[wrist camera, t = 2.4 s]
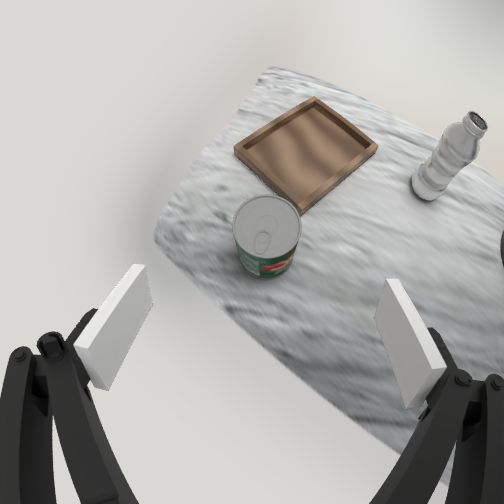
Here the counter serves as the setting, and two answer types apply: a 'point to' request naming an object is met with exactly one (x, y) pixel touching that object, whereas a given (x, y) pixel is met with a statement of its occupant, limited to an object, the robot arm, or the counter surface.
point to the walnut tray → (305, 152)
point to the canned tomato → (266, 235)
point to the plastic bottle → (449, 156)
